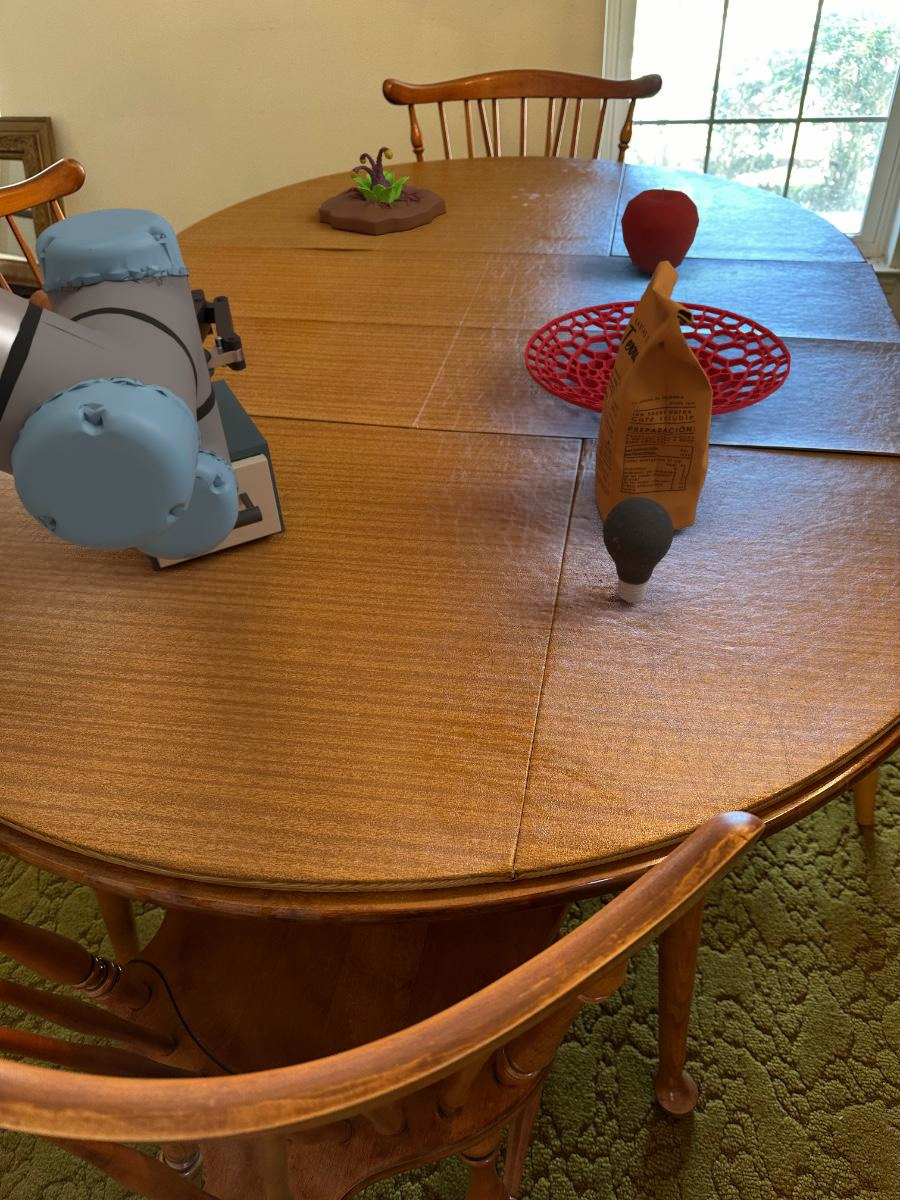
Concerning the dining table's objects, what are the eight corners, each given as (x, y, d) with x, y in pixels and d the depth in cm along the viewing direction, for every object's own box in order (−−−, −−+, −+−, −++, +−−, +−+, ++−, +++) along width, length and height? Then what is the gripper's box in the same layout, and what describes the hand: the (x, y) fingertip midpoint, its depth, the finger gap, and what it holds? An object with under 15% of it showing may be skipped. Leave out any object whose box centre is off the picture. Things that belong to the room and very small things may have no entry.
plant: (380, 242, 153) (373, 169, 145) (303, 220, 163) (293, 151, 156) (463, 210, 163) (460, 140, 156) (385, 191, 174) (379, 125, 167)
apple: (604, 267, 139) (608, 184, 132) (663, 253, 143) (671, 172, 135) (646, 290, 132) (653, 204, 124) (708, 275, 135) (719, 190, 127)
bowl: (642, 489, 93) (646, 445, 90) (474, 383, 112) (473, 344, 109) (840, 401, 105) (849, 359, 101) (657, 319, 124) (660, 281, 121)
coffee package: (691, 469, 95) (720, 252, 81) (702, 541, 86) (738, 310, 72) (593, 467, 96) (605, 254, 82) (593, 538, 87) (607, 310, 73)
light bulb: (607, 574, 83) (614, 478, 76) (670, 586, 81) (683, 489, 75) (590, 613, 79) (597, 515, 72) (657, 627, 77) (669, 528, 71)
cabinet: (285, 531, 90) (267, 442, 84) (154, 571, 86) (125, 481, 80) (242, 462, 101) (223, 378, 95) (123, 495, 97) (95, 410, 91)
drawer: (296, 554, 86) (281, 481, 81) (171, 593, 82) (148, 519, 77) (241, 466, 98) (226, 398, 93) (131, 497, 95) (109, 428, 90)
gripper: (41, 476, 68) (49, 349, 85) (301, 426, 71) (258, 314, 88) (4, 381, 63) (21, 267, 80) (284, 332, 66) (243, 233, 84)
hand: (145, 292), depth 84 cm, fingers closed on pill bottle, 6 cm apart
